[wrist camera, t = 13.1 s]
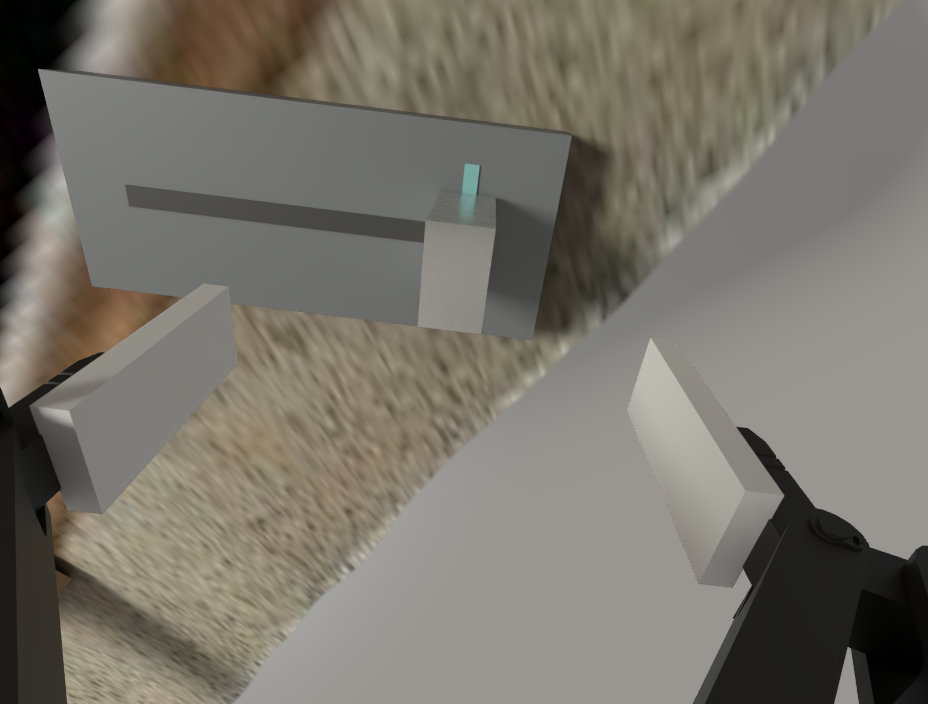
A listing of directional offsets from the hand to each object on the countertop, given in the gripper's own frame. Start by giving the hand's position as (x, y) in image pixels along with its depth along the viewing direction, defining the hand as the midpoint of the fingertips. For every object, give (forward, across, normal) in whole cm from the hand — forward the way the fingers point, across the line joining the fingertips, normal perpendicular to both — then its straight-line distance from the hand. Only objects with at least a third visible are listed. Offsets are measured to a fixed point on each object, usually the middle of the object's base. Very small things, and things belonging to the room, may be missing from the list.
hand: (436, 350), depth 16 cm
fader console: (+18, -9, 0) cm, 20 cm away
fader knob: (+14, 0, 0) cm, 14 cm away
